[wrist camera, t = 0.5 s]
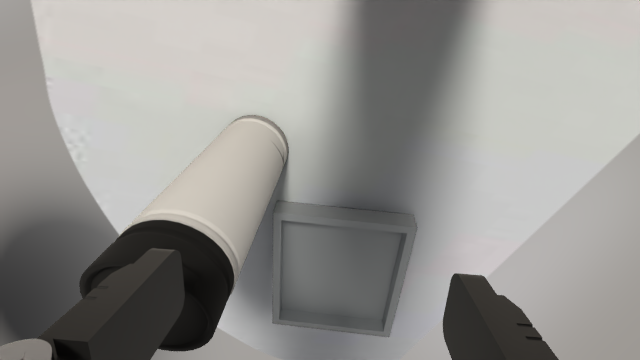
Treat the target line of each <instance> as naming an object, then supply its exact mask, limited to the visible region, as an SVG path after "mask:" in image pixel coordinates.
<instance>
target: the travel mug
mask: <svg viewBox="0 0 640 360" xmlns="http://www.w3.org/2000/svg"><path fill="white" fill-rule="evenodd" d="M287 157H288V143H287V139H286V137H285V135H284V133H283V132H282V130H281V129H280V128H279V127H278V126H277V125H276V124H275V123H274V122H272V121H270V120H269V119H267V118H264V117H262V116H256V115H247V116H242V117H240V118H238V119H236V120H234V121H233V122H232V123H231V124H230V125H229V126H228V127H227V128H226V129H225V130H224V131H223V132H222V133H221V134H220V135H219V136H218V137H217V138H216V139H215V140H214V141H213V142H212V143H211V144H210V145H209V146H208V147H207V148H206V149H205V150H204V151H203V152H202V153H201V154H200V155H199V156H198V157H197V158H196V159H195V160H194V161H193V162H192V163H191V164H190V165H189V166H188V167H187V168H186V169H185V170H184V171H183V172H182V173H181V174H180V175H179V176H178V177H177V178H176V179H175V180H174V181H173V182H172V183H171V184H170V185H169V186H168V187H166V188H165V189H164V190H163V191H162V192H161V193H160V194H159V195H158V196H157V197H156V198H155V199H154V200H153V201H152V202H151V203H150V204H149V205H148V206H147V207H146V208H145V209H144V210H143V211H142V212H141V213H140V214H139V215H138V216H137V217H136V218H135V219H134V221H133V222H132V223H131V224H130V225H128V226H127V227H126V228H125V229H124V231H123V232H122V233H121V234H120V236H119V237H118V238H117V240H116V241H115V242H114V243H113V244H111V245H110V246H109V247H108V248H107V249H106V250H105V251H104V252H103V253H102V254H101V255H100V256H99V257H98V258H97V259H96V260H95V261H94V262H93V263H92V264H91V266H89V267H88V268H87V269H86V271H85V272H84V273H83V274H82V276H81V280H80V293H81V295H82V298H83V299H85V297H86V295H87V294H88V293H90V292H91V291H92V290H93V289H94V288H97V286H98V285H99V284H100V283H101V282H102V281H103V280H104V279H106V278H107V277H108V276H109V275H110V274H111V273H113V272H115V271H117V270H119V269H121V268H123V267H125V266H127V265H129V264H134V263H135V262H136V261H137V260H138V259H139V258H140V257H142V256H143V255H144V254H145V253H146V252H147V251H148V250H149V249H151V248H156V249H169V250H178V251H179V252H180V254H181V259H182V270H183V281H184V291H185V299H184V305H183V308H182V311H181V314H180V316H179V317H178V319H177V320H176V322H175V323H174V325H173V326H172V328H171V329H170V331H169V332H168V334H167V335H166V337H165V338H164V340H163V341H162V343H161V344H160V346H159V347H158V349H161V350H169V351H188V350H194V349H197V348H200V347H202V346H203V345H205V344H206V343H208V342H209V341H210V339H211V338H212V337H213V334H214V332H215V329H216V327H217V325H218V322H219V320H220V318H221V315H222V313H223V310H224V308H225V305H226V302H227V300H228V298H229V296H230V294H231V293H232V291H233V289H234V286H235V284H236V281H237V279H238V277H239V274H240V272H241V269H242V267H243V265H244V262H245V260H246V257H247V255H248V252H249V250H250V247H251V245H252V243H253V240H254V238H255V235H256V233H257V230H258V228H259V226H260V223H261V221H262V218H263V216H264V213H265V211H266V208H267V206H268V204H269V201H270V199H271V196H272V194H273V191H274V189H275V187H276V184H277V182H278V179H279V177H280V174H281V172H282V169H283V167H284V165H285V162H286V159H287Z"/></svg>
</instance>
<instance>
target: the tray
mask: <svg viewBox="0 0 640 360" xmlns="http://www.w3.org/2000/svg"><path fill="white" fill-rule="evenodd" d="M416 231H417V225H416V222H415V218H414V215H410V214H400V213H391V212H381V211H371V210H362V209H352V208H342V207H333V206H323V205H313V204H304V203H294V202H284V201H277V203H276V206H275V209H274V211H273V324H281V325H290V326H298V327H307V328H316V329H324V330H333V331H341V332H350V333H358V334H367V335H375V336H384V337H389V336H390V332H391V328H392V324H393V321H394V317H395V313H396V309H397V305H398V301H399V297H400V293H401V289H402V285H403V282H404V278H405V274H406V270H407V266H408V262H409V258H410V254H411V250H412V246H413V243H414V239H415V235H416Z"/></svg>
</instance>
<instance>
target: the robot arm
mask: <svg viewBox="0 0 640 360" xmlns="http://www.w3.org/2000/svg"><path fill="white" fill-rule="evenodd" d="M184 299H185V291H184V281H183V270H182V259H181V254H180V252H179V251H178V250H169V249H156V248H151V249H149V250H148V251H147V252H146V253H145V254H144V255H143V256H142V257H140V258H139V259H138V260H137V261H136V262H135V263H134V264H129V265H127V266H125V267H123V268H121V269H119V270H117V271H115V272H113V273H111V274H110V275H109V276H108V277H107V278H106V279H104V280H103V281H102V282H101V283H100V284H99V285H98V286H97V288H94V289H93V290H92V291H91V292H90V293H88V294H87V295H86V297H85V299H82V300H81V301H80V302H79V303H77V304H76V305H75V306H74V307H73V308H71V309H70V310H69V311H68V312H67V313H66V314H65V315H63V316H62V317H61V318H60V319H59V320H58V321H57V322H55V323H54V324H53V325H52V326H51V327H50V328H49V329H47V330H46V331H45V332H44V333H43V334H42V335H41V336H39V337H38V338H37V339H26V340H20V341H16V342H12V343H9V344H6V345H4V346H1V347H0V360H150V359H151V358H152V356H153V355H154V353H155V351H156V350H157V349H158V347H159V346H160V344H161V343H162V341H163V340H164V338H165V337H166V335H167V334H168V332H169V331H170V329H171V328H172V326H173V325H174V323H175V322H176V320H177V319H178V317H179V316H180V314H181V311H182V308H183V305H184ZM443 333H444V339H445V342H446V345H447V347H448V350H449V353H450V355H451V358H452V360H558V358H557V357H556V356H555V354H554V353H553V352H552V350H551V349H550V347H549V346H548V345H547V343H546V342H545V341H543V340H542V337H541V335H540V334H539V333H538V332H537V330H536V329H535V328H533V327H532V323H531V322H530V321H529V319H528V318H527V317H526V315H525V314H524V313H523V311H522V310H521V309H520V308H519V307H517V306H516V305H515V304H514V303H512V302H511V301H510V300H509V299H507V298H506V297H505V296H502V295H497V294H496V293H495V291H494V290H493V289H492V287H491V286H490V284H489V283H488V281H487V280H486V278H485V277H484V276H481V275H469V274H454V275H453V276H452V279H451V283H450V288H449V292H448V297H447V302H446V307H445V312H444V317H443Z"/></svg>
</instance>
